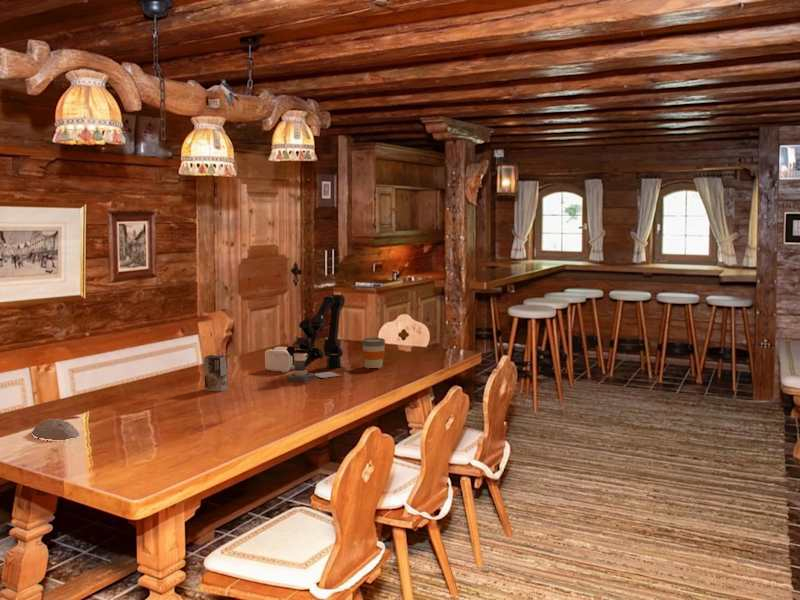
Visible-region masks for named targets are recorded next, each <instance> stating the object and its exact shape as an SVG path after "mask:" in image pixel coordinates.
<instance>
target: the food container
mask: <svg viewBox="0 0 800 600" xmlns="http://www.w3.org/2000/svg"><path fill="white" fill-rule="evenodd" d="M31 432H32V434H33V435H34V436H36V437H38V438H44V439H52V440H66V439H70V438H75V437H77V436H78V437H80V433H79V431H78V429H77V428H75V426H74V425H73V424H71V423H70V422H68V421H65V420H63V419H60V418H52V419H51V418H46V419H45V420H42V421H40V422H39V423H38V424H37V425H36V426H35V427H34V428H33V429H32V431H31ZM78 437H77V438H78ZM75 439H76V438H75Z"/></svg>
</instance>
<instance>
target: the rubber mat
mask: <svg viewBox="0 0 800 600" xmlns="http://www.w3.org/2000/svg"><path fill="white" fill-rule="evenodd" d="M314 374H315V376H316V377H315V378H318V377H319V378H318V379H320V378H324V379H329V378H328V377H332V378H336V377H335V376H339V377H341V374H338V373H336V372H332V371H324V372H316V373H314Z"/></svg>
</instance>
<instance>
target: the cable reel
mask: <svg viewBox="0 0 800 600" xmlns="http://www.w3.org/2000/svg"><path fill="white" fill-rule="evenodd" d="M307 357H308V354H307V353H294V369H293V370H294V373H295V376H299V377H305V376H307V373H308V366H306V367H305V366H304V365H305V362H306V360H307Z"/></svg>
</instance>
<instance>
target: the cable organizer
mask: <svg viewBox="0 0 800 600" xmlns="http://www.w3.org/2000/svg"><path fill="white" fill-rule="evenodd" d="M287 347H288V346H287ZM287 347H286V346H276V347H274V348H273V349H271V348H270V349H266V350H265V351H264V368H265V370H267V371H269V370H271V371H270V372H279V371H281V372H280V373H287V372H289V371H290V370H291V369H293V370H294V366H293V356H290V354H289V353H288V351H287V350H286V349H287Z"/></svg>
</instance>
